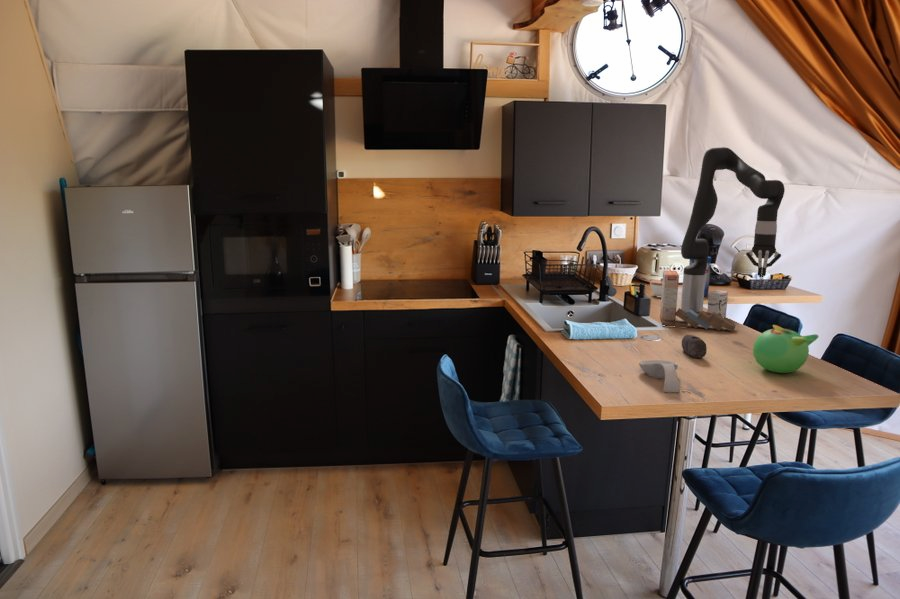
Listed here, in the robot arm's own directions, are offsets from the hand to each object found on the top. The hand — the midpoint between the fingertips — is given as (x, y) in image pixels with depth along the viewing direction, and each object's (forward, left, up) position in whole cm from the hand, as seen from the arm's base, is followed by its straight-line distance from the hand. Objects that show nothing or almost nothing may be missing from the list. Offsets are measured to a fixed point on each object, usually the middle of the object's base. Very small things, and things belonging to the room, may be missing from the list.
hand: (761, 276), depth 256 cm
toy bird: (+44, +29, -23) cm, 57 cm away
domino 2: (+9, -20, -22) cm, 31 cm away
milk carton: (-56, -58, -23) cm, 84 cm away
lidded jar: (-38, -68, -23) cm, 81 cm away
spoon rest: (+81, +10, -23) cm, 85 cm away
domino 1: (+11, -23, -22) cm, 34 cm away
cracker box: (+7, -35, -23) cm, 43 cm away
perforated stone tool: (+48, 0, -23) cm, 53 cm away
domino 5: (+4, -7, -22) cm, 23 cm away
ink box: (-13, -24, -23) cm, 36 cm away
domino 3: (+7, -16, -22) cm, 28 cm away
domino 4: (+6, -12, -22) cm, 25 cm away
